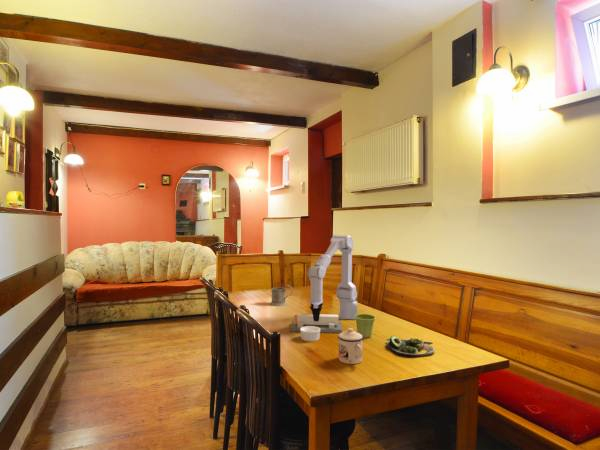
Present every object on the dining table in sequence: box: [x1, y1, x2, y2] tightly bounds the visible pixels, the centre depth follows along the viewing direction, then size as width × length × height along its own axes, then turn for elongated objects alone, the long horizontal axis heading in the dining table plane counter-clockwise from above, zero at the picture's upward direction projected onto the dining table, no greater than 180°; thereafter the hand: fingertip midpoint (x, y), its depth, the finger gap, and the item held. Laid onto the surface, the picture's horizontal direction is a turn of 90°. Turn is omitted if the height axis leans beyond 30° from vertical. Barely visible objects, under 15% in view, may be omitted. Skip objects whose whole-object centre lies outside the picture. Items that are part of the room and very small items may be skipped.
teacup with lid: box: [337, 327, 364, 365], centre depth 135 cm, size 12×9×12 cm
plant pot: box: [354, 313, 377, 339], centre depth 164 cm, size 9×9×9 cm
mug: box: [269, 284, 294, 307], centre depth 223 cm, size 14×10×12 cm
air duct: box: [293, 312, 340, 325], centre depth 175 cm, size 21×4×4 cm, turn 85°
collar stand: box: [289, 320, 343, 334], centre depth 175 cm, size 24×12×4 cm, turn 85°
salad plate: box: [385, 335, 436, 358], centre depth 148 cm, size 19×18×5 cm
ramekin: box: [300, 326, 321, 342], centre depth 160 cm, size 9×9×4 cm
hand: (316, 319), depth 175 cm, fingers closed on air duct, 4 cm apart
